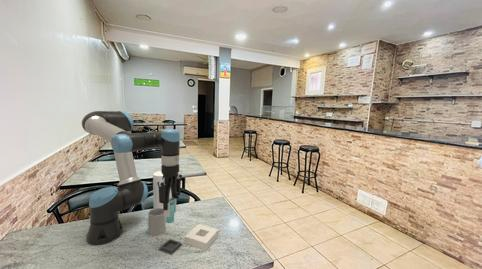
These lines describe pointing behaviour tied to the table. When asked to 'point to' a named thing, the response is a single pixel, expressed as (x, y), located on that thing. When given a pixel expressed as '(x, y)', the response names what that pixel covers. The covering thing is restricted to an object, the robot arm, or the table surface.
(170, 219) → the plug
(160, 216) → the mug
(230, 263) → the table surface
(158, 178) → the tall pillar cylinder
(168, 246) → the grey square socket
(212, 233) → the port
